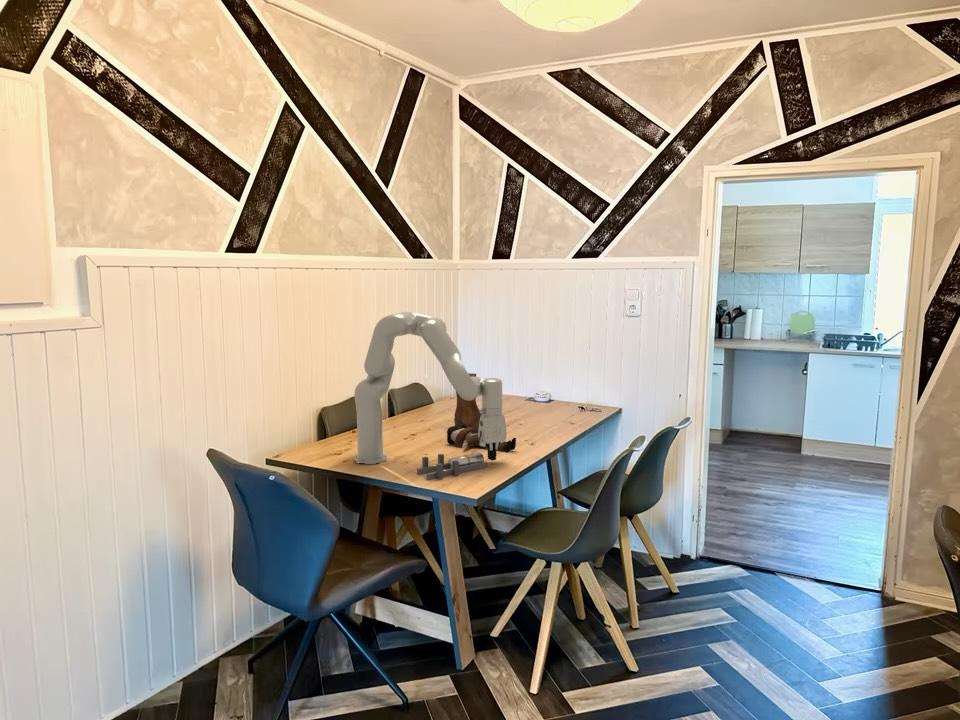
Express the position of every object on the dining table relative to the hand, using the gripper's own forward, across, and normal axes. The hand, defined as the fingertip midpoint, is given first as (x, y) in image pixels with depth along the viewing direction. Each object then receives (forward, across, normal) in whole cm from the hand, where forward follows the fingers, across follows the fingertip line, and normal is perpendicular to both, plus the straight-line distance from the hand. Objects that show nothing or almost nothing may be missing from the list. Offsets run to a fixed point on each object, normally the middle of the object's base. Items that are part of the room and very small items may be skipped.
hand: (492, 459), depth 237 cm
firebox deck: (+2, -17, 0) cm, 17 cm away
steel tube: (+1, -11, 0) cm, 11 cm away
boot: (+3, +24, +47) cm, 53 cm away
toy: (+3, +10, +22) cm, 24 cm away
